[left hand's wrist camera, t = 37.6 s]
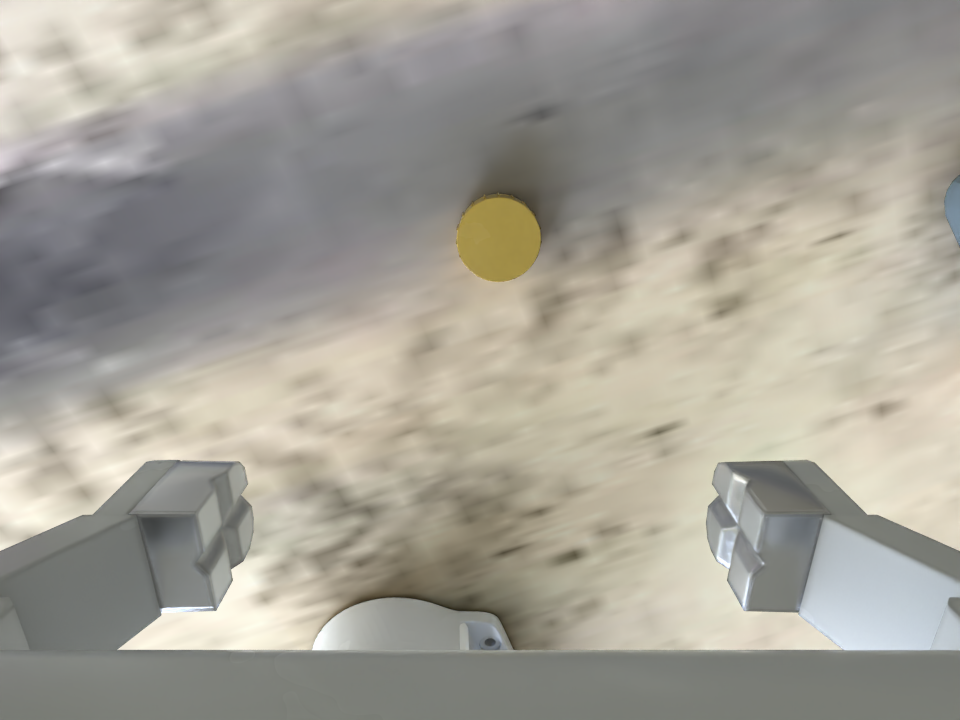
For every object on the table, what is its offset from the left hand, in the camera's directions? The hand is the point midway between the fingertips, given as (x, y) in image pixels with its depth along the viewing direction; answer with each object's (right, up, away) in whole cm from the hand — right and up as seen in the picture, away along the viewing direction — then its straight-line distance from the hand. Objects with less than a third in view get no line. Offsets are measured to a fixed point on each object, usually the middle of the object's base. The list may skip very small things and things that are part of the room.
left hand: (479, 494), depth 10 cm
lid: (+1, +9, +24) cm, 26 cm away
